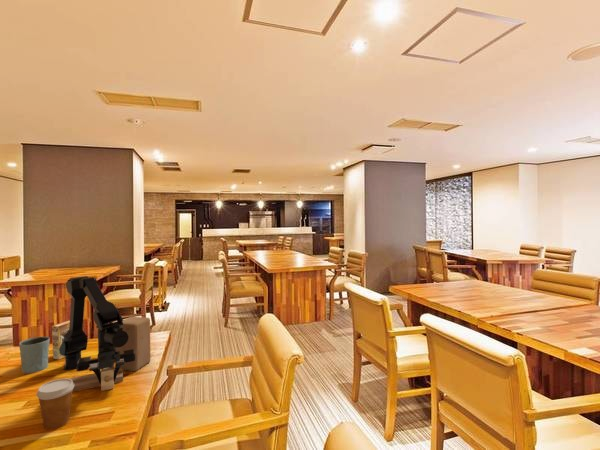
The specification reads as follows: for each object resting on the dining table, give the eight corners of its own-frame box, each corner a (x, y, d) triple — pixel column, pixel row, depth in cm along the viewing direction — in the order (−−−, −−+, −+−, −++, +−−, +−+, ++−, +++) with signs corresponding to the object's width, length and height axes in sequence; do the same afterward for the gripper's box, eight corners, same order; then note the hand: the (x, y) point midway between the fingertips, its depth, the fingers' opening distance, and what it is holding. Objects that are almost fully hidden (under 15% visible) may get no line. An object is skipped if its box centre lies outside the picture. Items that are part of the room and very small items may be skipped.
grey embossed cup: (16, 376, 133) (15, 346, 133) (23, 366, 142) (22, 338, 142) (47, 370, 138) (47, 342, 138) (52, 361, 147) (52, 334, 147)
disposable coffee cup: (69, 410, 110) (68, 374, 109) (79, 421, 103) (78, 384, 103) (33, 424, 102) (32, 386, 102) (42, 437, 96) (41, 396, 96)
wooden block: (136, 372, 136) (135, 324, 136) (115, 370, 138) (114, 322, 138) (151, 362, 146) (150, 317, 146) (131, 360, 148) (131, 315, 148)
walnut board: (54, 386, 125) (54, 381, 125) (123, 372, 136) (123, 368, 136) (50, 396, 118) (49, 390, 118) (122, 381, 129) (122, 376, 129)
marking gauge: (103, 376, 132) (103, 359, 132) (114, 374, 134) (114, 357, 134) (101, 392, 120) (100, 373, 120) (113, 389, 122) (113, 371, 122)
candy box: (59, 360, 148) (58, 326, 148) (52, 359, 149) (51, 325, 149) (77, 352, 157) (76, 320, 156) (70, 351, 158) (69, 319, 158)
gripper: (74, 353, 112) (74, 398, 113) (135, 343, 121) (135, 385, 122) (78, 342, 122) (79, 384, 123) (134, 334, 131) (135, 373, 131)
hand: (107, 382), depth 124 cm, fingers closed on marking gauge, 4 cm apart
